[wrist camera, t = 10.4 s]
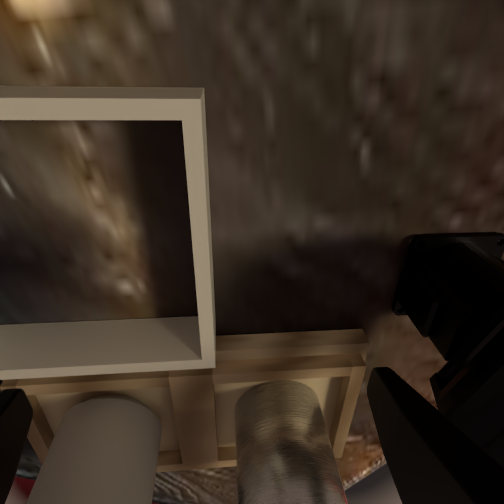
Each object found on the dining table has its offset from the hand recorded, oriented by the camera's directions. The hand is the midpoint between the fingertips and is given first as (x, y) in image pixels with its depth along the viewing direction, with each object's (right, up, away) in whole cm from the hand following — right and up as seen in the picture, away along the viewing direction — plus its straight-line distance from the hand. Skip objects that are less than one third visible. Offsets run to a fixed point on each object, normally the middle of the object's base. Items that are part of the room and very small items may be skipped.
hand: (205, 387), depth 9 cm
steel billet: (+3, -9, +19) cm, 22 cm away
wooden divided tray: (-3, -9, +20) cm, 22 cm away
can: (-10, -10, +19) cm, 23 cm away
